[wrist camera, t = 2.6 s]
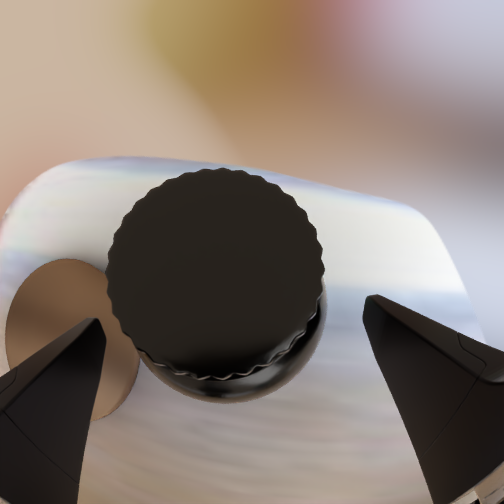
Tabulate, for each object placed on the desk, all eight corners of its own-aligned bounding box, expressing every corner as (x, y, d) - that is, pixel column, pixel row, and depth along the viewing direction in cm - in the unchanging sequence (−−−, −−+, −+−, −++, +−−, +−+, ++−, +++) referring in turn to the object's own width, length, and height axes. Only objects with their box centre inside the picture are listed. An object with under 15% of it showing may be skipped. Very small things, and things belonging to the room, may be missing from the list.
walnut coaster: (131, 442, 14) (122, 447, 13) (11, 390, 14) (-1, 390, 13) (154, 277, 18) (146, 270, 17) (34, 257, 18) (23, 250, 17)
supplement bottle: (298, 282, 18) (369, 160, 7) (281, 392, 16) (351, 447, 5) (191, 265, 19) (124, 129, 7) (168, 371, 16) (40, 373, 5)
